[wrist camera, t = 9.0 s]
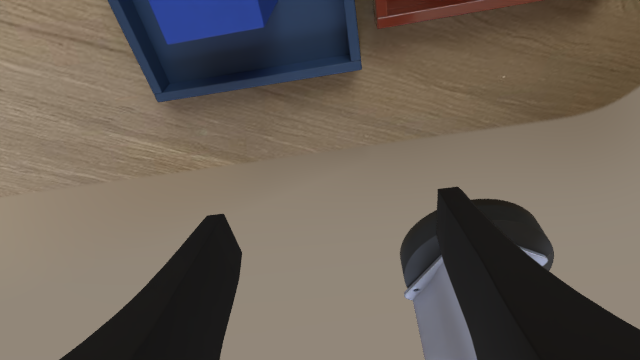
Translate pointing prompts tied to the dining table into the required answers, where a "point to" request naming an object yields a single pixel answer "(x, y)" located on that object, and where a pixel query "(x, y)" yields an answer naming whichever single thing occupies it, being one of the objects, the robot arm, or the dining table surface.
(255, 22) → the blue block
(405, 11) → the terracotta tray
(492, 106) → the dining table surface
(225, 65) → the blue tray
